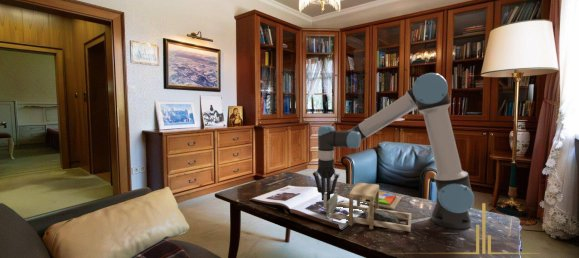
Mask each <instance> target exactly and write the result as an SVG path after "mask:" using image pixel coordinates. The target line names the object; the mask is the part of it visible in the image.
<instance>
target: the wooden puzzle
mask: <svg viewBox="0 0 579 258" xmlns="http://www.w3.org/2000/svg"><path fill="white" fill-rule="evenodd" d="M402 199H403V198H402V197H401V196H397V195H396V194H392V193H386V192H381V191H379V208H382V209H383V208H384V209H386V210H391V211H394V209H396V208H397V206H398V205H399V203H400V201H401V200H402ZM360 202H363V203H367V204H366V205H368V206H369V205H370V200H368V199H362V200H361V199H360ZM363 203H362V204H363ZM374 207H375V198H374Z"/></svg>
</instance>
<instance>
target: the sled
mask: <svg viewBox="0 0 579 258" xmlns="http://www.w3.org/2000/svg"><path fill="white" fill-rule="evenodd" d="M338 199H339V198H338V192H334V193H333V194H332V196H330V199H329V200H328V202H327V203H326V208H325V210H326V216H328V217H333V218H339V219H346V220H348V222H349V216H345V215H339V214H337V213H334V212H335V211H336V210H337V208H336V207H343V208H349V204H345V203H338V201H339V200H338ZM335 209H336V210H335ZM353 209H359V210H362V211H363V213H365V218H362V217H359V216H358V217H356V216H353V223H355V224H356V223H357V224H362V225H368V226H370V205H368V207H367V206H361V205H360V206H357V205H354V204H353ZM334 210H335V211H334ZM333 211H334V212H333ZM362 211H361V212H362ZM374 211H385V212H388V213H390V214H392V215H393V216H394V217H396V218H404V219H408V223H407V224H401V223H399V224H397V223H389V222H383V221H377V220H374V223H373V227H374V226H375V227H379V228H380V227H381V228H385V229H386V228H387V229H391V230H398V231H405V232H408V233H409V232H410V233H411V230H412V229H411V228H412V213H410V212H403V211H402V212H401V211H395V210H390V209H383V208H382V209H381V208H379V209H375V207H374ZM332 212H333V213H332Z"/></svg>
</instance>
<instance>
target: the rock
mask: <svg viewBox="0 0 579 258" xmlns="http://www.w3.org/2000/svg"><path fill="white" fill-rule="evenodd" d="M374 220H377V221H383V222H389V223H396V224H400V222H399V219H398V217H396V216H393V215H392V214H390V213H388V212H385V211H374Z"/></svg>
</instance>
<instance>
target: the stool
mask: <svg viewBox="0 0 579 258" xmlns="http://www.w3.org/2000/svg"><path fill="white" fill-rule="evenodd" d="M379 192H380V184H376V183H367V182H357V183H355V185H354V186H353V188H352V189H351V190H350V192H349V193H348V195H349V196H348V201H349V202H348V205H349V221H348V226H351V227H352V226H353V225H354V222H353V217H354V212H353V205H354V199H356V206H361V203H360V201H361V199H368V200H370V225H368V226H369V230H373V229H374V226H373V223H374V208H375V209H380V207H379ZM374 198H375V206H374Z"/></svg>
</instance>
